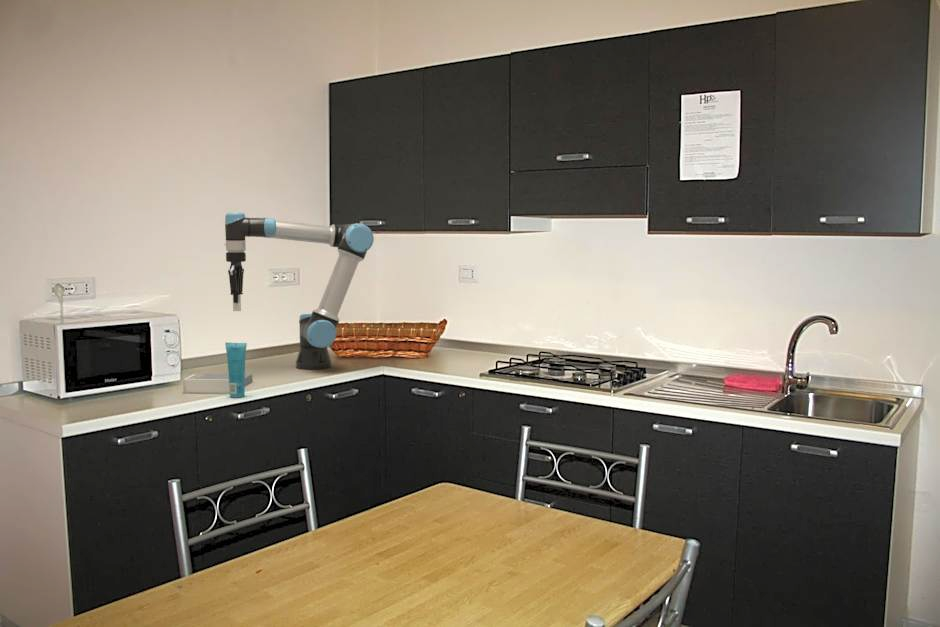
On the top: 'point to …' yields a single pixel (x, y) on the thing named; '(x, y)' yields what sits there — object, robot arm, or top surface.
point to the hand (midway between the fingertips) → (237, 310)
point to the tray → (205, 385)
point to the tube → (236, 368)
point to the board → (225, 377)
